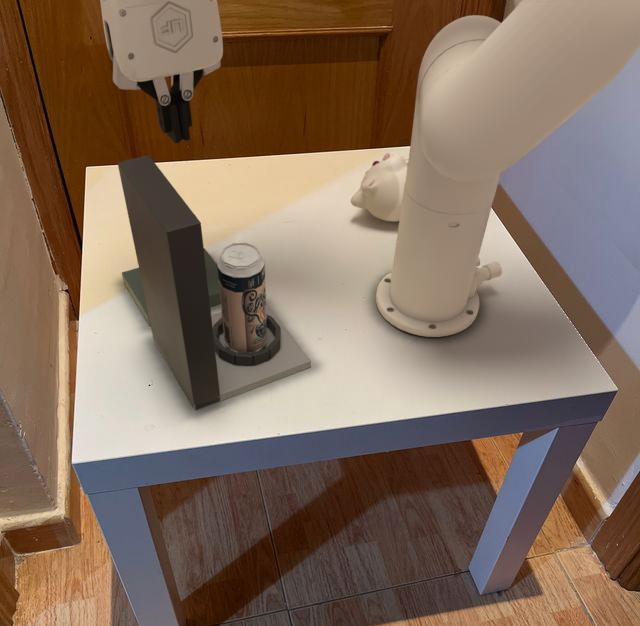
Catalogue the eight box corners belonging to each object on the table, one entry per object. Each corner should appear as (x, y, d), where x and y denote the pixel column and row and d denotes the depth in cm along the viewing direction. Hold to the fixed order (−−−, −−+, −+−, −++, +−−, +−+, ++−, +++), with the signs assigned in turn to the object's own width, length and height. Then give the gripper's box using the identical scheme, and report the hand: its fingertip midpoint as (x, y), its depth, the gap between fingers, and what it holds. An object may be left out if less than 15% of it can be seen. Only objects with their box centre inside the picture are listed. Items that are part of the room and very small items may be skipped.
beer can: (261, 360, 76) (257, 272, 67) (219, 353, 76) (210, 265, 67) (271, 331, 79) (269, 243, 70) (231, 325, 80) (224, 236, 70)
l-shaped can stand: (263, 304, 84) (256, 129, 67) (311, 367, 77) (317, 189, 60) (153, 341, 79) (117, 162, 62) (194, 411, 72) (166, 232, 55)
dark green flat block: (205, 259, 89) (203, 235, 86) (235, 299, 84) (233, 276, 81) (123, 283, 85) (118, 260, 83) (150, 327, 80) (145, 303, 78)
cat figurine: (456, 134, 93) (363, 145, 87) (477, 188, 92) (384, 202, 86) (421, 173, 102) (334, 185, 96) (440, 222, 101) (353, 238, 95)
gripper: (72, -50, 53) (121, 171, 67) (247, -75, 58) (257, 135, 72) (45, -76, 57) (96, 137, 71) (210, -98, 62) (227, 105, 76)
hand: (177, 135), depth 72 cm, fingers closed
